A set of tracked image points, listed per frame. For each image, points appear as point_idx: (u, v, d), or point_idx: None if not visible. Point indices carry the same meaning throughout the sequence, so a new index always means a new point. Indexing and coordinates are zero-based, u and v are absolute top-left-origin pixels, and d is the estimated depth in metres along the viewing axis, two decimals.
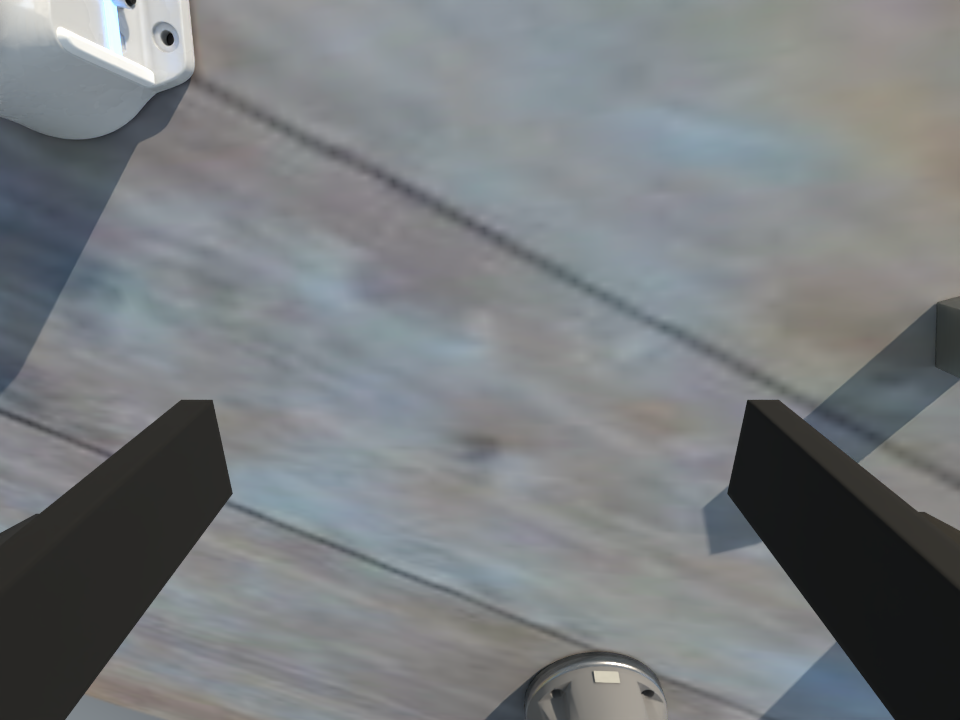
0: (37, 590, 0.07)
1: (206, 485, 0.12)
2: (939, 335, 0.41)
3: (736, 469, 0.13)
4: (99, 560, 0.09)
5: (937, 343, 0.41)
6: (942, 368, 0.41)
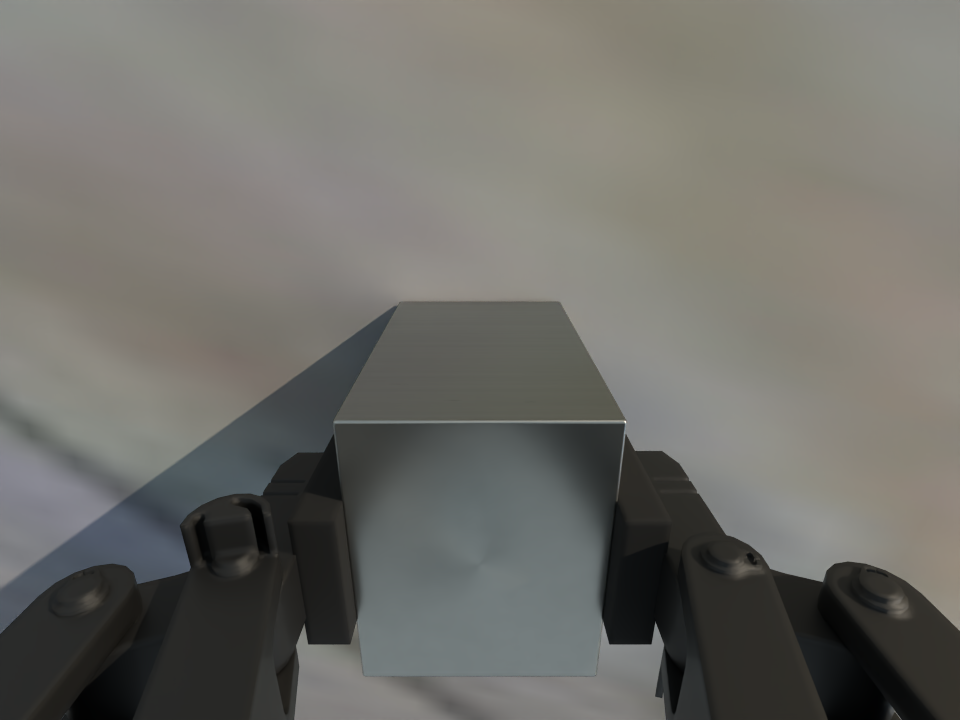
0: None
1: None
2: None
3: None
4: None
5: None
6: None
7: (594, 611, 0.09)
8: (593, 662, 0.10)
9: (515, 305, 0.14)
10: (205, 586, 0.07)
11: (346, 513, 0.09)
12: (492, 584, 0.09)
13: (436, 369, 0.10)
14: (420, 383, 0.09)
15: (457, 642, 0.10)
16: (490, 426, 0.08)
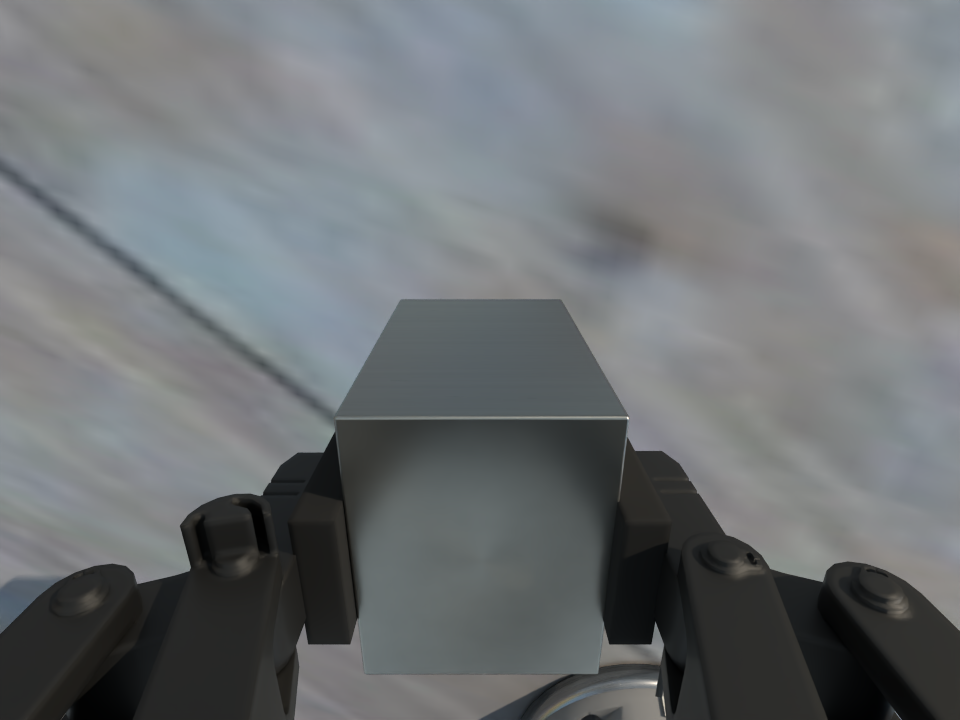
0: None
1: None
2: None
3: None
4: None
5: None
6: None
7: (596, 609, 0.09)
8: (595, 660, 0.10)
9: (516, 302, 0.14)
10: (205, 586, 0.07)
11: (347, 510, 0.09)
12: (494, 582, 0.09)
13: (438, 366, 0.10)
14: (422, 380, 0.09)
15: (458, 640, 0.10)
16: (492, 422, 0.08)
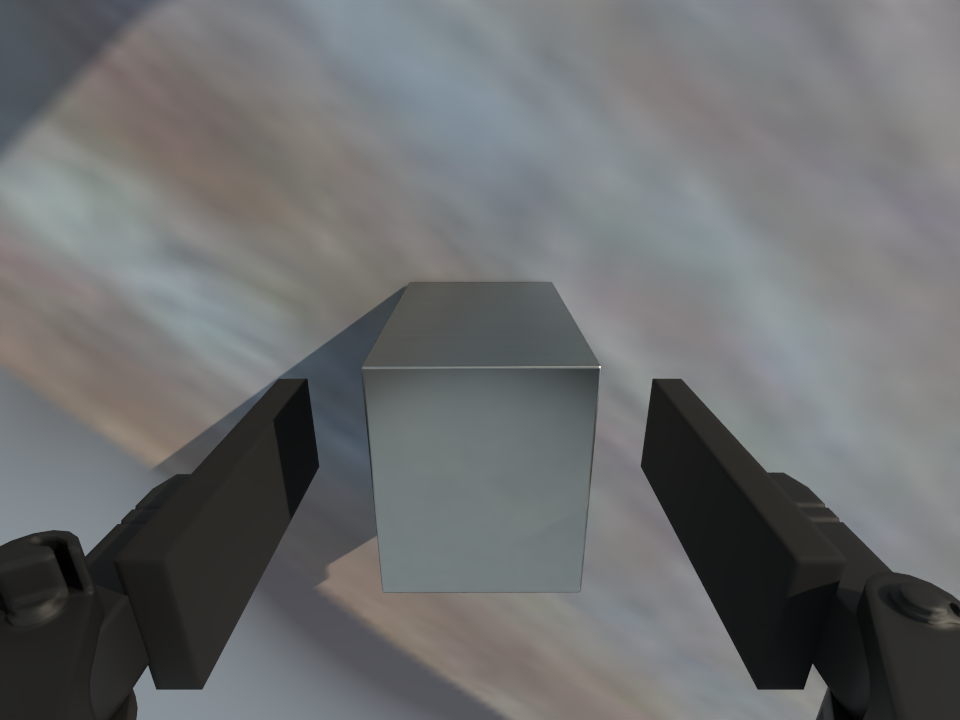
0: (209, 531, 0.09)
1: (303, 456, 0.13)
2: None
3: (646, 443, 0.14)
4: (242, 512, 0.10)
5: None
6: None
7: (577, 533, 0.11)
8: (577, 579, 0.12)
9: (512, 284, 0.16)
10: None
11: (371, 446, 0.10)
12: (492, 509, 0.11)
13: (445, 331, 0.12)
14: (431, 341, 0.11)
15: (462, 561, 0.12)
16: (489, 371, 0.10)
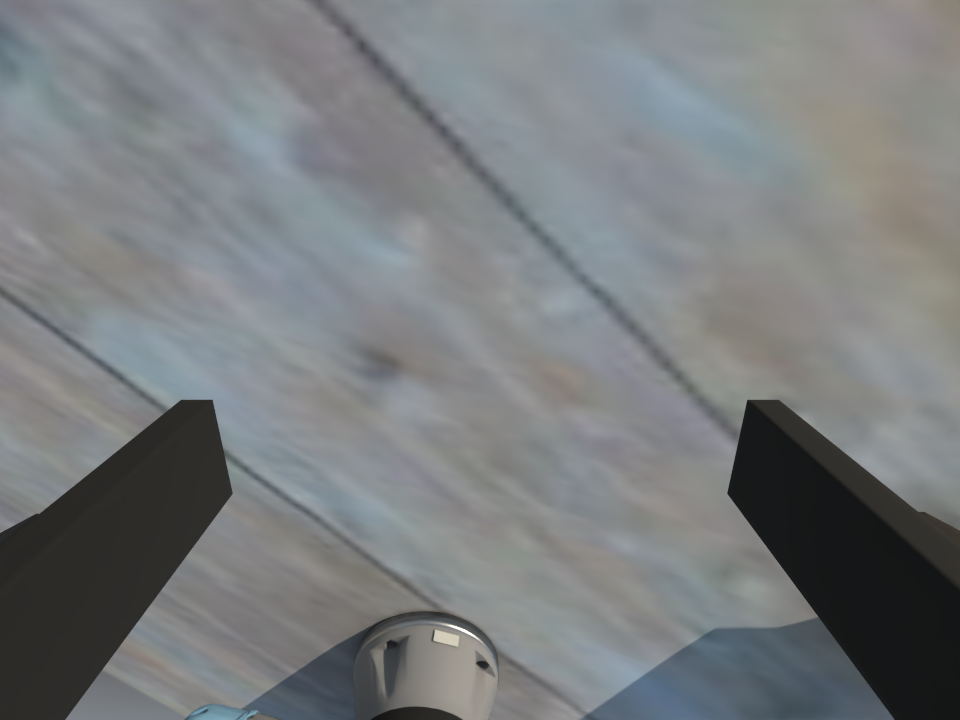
0: (37, 590, 0.07)
1: (206, 485, 0.12)
2: None
3: (736, 468, 0.13)
4: (99, 560, 0.09)
5: None
6: None
7: None
8: None
9: None
10: None
11: None
12: None
13: None
14: None
15: None
16: None
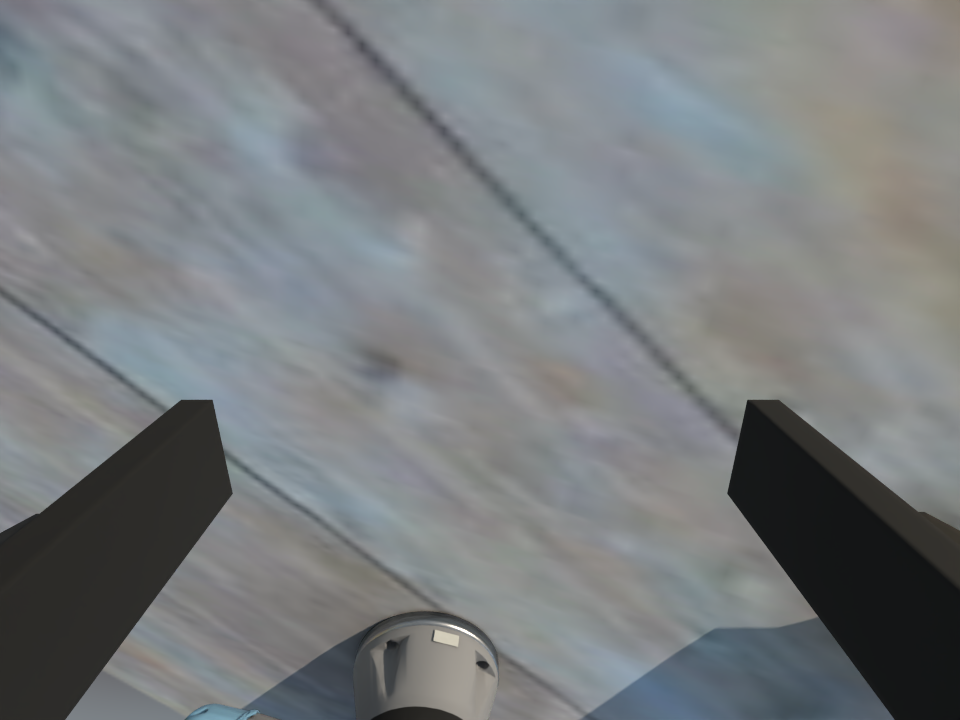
0: (37, 590, 0.07)
1: (206, 485, 0.12)
2: None
3: (736, 468, 0.13)
4: (99, 560, 0.09)
5: None
6: None
7: None
8: None
9: None
10: None
11: None
12: None
13: None
14: None
15: None
16: None
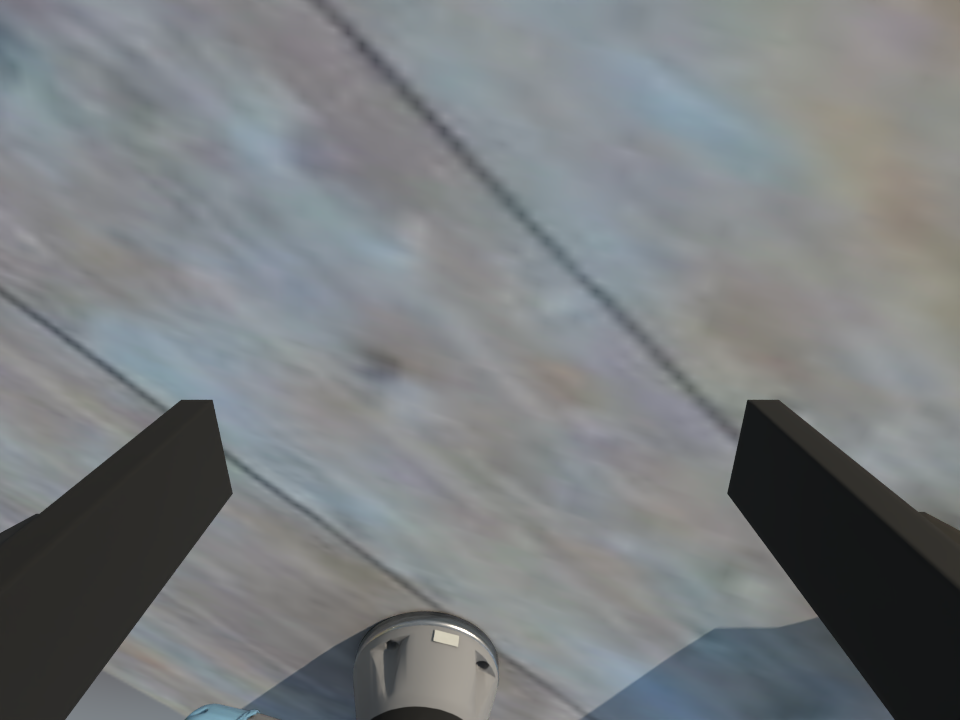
0: (37, 590, 0.07)
1: (206, 485, 0.12)
2: None
3: (736, 468, 0.13)
4: (99, 560, 0.09)
5: None
6: None
7: None
8: None
9: None
10: None
11: None
12: None
13: None
14: None
15: None
16: None
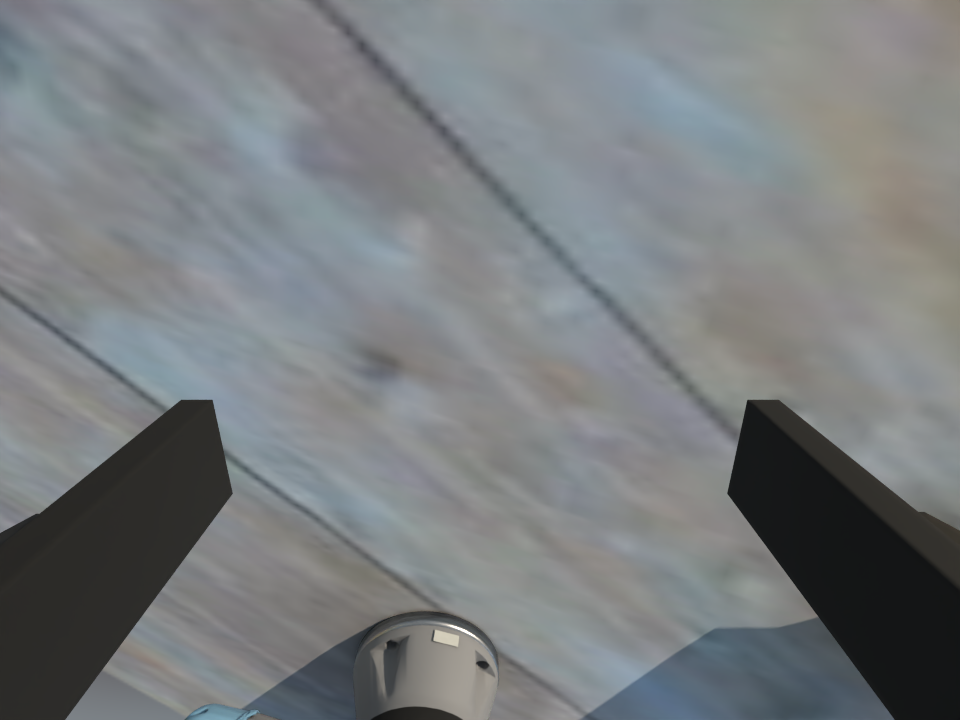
0: (37, 590, 0.07)
1: (206, 485, 0.12)
2: None
3: (736, 468, 0.13)
4: (99, 560, 0.09)
5: None
6: None
7: None
8: None
9: None
10: None
11: None
12: None
13: None
14: None
15: None
16: None
